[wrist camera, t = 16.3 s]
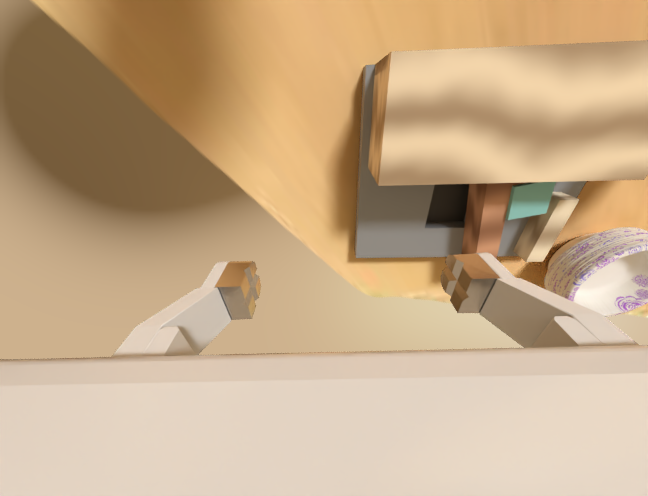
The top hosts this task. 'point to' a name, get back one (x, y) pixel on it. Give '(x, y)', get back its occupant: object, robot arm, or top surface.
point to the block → (529, 199)
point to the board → (417, 208)
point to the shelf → (511, 114)
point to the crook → (485, 217)
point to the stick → (545, 228)
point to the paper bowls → (602, 271)
